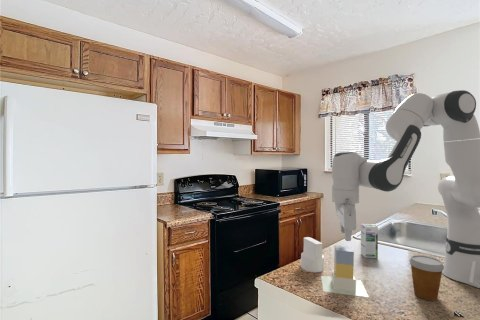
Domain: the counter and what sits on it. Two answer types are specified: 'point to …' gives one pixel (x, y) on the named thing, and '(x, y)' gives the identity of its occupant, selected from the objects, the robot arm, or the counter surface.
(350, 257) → the slate brick
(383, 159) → the robot arm
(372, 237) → the syrup box
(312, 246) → the cylinder with rectangular tab
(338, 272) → the mustard brick
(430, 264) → the disposable coffee cup
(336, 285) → the base brick
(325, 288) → the plate
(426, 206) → the counter surface
